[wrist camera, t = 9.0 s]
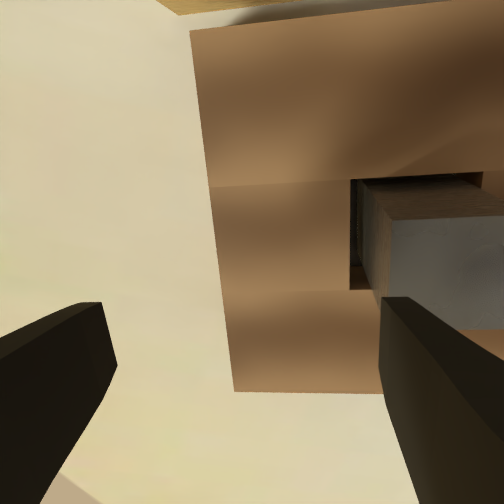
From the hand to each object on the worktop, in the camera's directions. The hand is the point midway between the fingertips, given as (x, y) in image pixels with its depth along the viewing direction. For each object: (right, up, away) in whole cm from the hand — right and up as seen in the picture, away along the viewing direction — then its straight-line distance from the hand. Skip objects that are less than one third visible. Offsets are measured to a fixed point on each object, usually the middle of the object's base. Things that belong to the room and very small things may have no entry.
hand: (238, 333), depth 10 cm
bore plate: (+7, +4, +8) cm, 11 cm away
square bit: (+7, +4, +8) cm, 11 cm away
